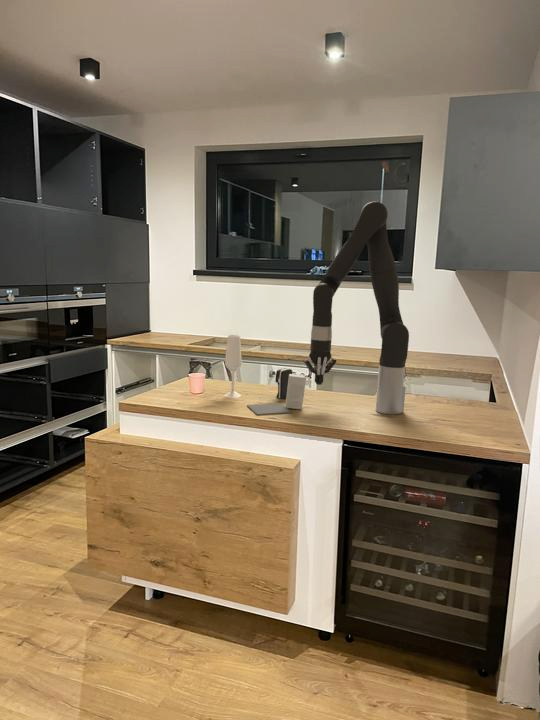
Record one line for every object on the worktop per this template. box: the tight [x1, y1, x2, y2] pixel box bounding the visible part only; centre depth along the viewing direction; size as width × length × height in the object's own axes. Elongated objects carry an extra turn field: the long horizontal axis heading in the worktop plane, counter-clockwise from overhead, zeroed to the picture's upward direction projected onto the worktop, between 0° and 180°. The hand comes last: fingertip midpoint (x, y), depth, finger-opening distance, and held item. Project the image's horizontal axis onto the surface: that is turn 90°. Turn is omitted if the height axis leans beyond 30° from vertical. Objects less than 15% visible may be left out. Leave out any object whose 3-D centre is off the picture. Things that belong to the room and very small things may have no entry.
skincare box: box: [284, 373, 307, 410], centre depth 191 cm, size 6×4×12 cm
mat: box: [246, 402, 293, 416], centre depth 189 cm, size 13×12×1 cm
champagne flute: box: [224, 334, 243, 399], centre depth 205 cm, size 7×7×24 cm
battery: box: [275, 367, 293, 399], centre depth 207 cm, size 7×4×11 cm, turn 139°
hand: (318, 384), depth 194 cm, fingers closed
